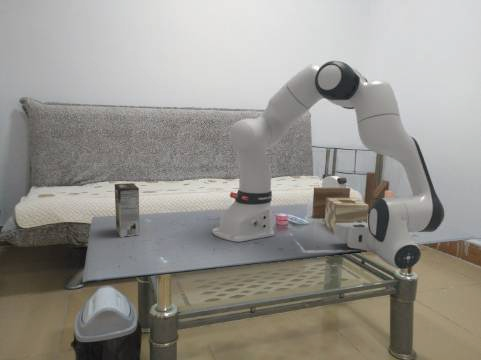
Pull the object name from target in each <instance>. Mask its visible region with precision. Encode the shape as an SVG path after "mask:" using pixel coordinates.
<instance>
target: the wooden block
mask: <svg viewBox="0 0 481 360" xmlns="http://www.w3.org/2000/svg"><path fill="white" fill-rule="evenodd" d="M376 175H377V173H376V172H373V171H368V172H366V177H365V178H366V179H365V180H366V181H365V188H364V189H365V191H364V203H366V204H368V213H369V210H370V208H371V206H372V205H373V203H374V202H375V201H376V200H377V199H379V198H384V197H385V191H386V190H389V189H390V181H388V180H384V179H383V180H382V181H381V182H380V183H379V184H378V185H377V186H376V185H375V184H376ZM375 187H376V188H375ZM389 191H390V190H389ZM374 200H375V201H374Z"/></svg>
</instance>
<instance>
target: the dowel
mask: <svg viewBox="0 0 481 360" xmlns="http://www.w3.org/2000/svg"><path fill="white" fill-rule="evenodd" d="M388 197H395V191H394V190H386V191H385V197H384V198H388Z"/></svg>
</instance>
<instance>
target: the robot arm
mask: <svg viewBox="0 0 481 360" xmlns="http://www.w3.org/2000/svg"><path fill="white" fill-rule="evenodd" d="M323 99H325V100H327V101H328V102H330V103H331V104H333V105H336V106H339V107H341V108H343V109H346V110H354V111H355V115H356V122H357V123H356V124H357V129H358V135H359V139H360V141H361V144H362V145H363V146H364V147H365V148H366V149H368V150H369V151H371V152H372V153H375V154H378V155H382V156H386V157H387V158H388V157H389V158H390V159H394V160H395V161H397V162H399V163H400V164H401V165H402V166H403V168H404V171H405V173H406V177H407V180H408V182H409V185H410V189H411V191H412V192H411V193H412V195H404V196H394V197H388V198H379V199H377V200H376V199H375V200H376V201H373V205H372V206H371V208H370V210H369V213H368V217H367V223H365V222H363V221H354V223H336V224H335V226H334V232H333V234H334V235H335V237H336V238H338V239H339V240H340V241H341V242H343V243H346V245H347V247H348V248H350V249H355V250H362V251H365V252H368V253H373V254H375V255H376V256H377V257H378V258H379V259H381V260H382V261H383V262H384V263H386V264H388V266H389V265H390V266H391V267H393V268H395V269H399V270H406V269H409V268H412V267H414V266H415V265H416V264H418V262H419V261H420V260H421V256H422V251H421V247H419V245H418V244H417V243H416V242H415V241H414V240H413V238H412V237H411V234H410V233H417V232H418V233H433V232H435V231H437V229H439V227H440V226H441V224H442V223H443V221H444V219H445V208H444V206H443V203H442V202H441V199H440V198H439V197H438V194H437V193H436V191H435V190H436V189H435V187H434V185H433V182H432V177H431V175H430V173H429V172H430V171H429V169H428V166H427V164H426V161H425V158H424V155H423V152H422V150H421V147H420V145H419V143H418V141H417V140H416V139H415V137H413V136H411V135H410V134H409V133H408V131H406V129H405V128H404V125H403V122H402V119H401V116H400V115H401V114H400V110H399V106H398V101H397V98H396V95H395V93H394V90H393V87H392V86H391V84H390V83H389V82H387V81H386V80H382V79H381V80H380V79H374V80H369V81H368V79H367V78H366V77H364V76H363V75H362V73H361V72H359V71H358V70H357V69H356V68H353V67H352V66H350V65H349V64H347V62H346V63H345V62H343V61H341V60H340V61H339V60H331V61H327V62H325V63H323V64H322V65H320V64H317V63H311V64H309V65H307V66H306V67H304V68H303V69H301V70H300V71H299V72H297V73H296V74H294V75H293V76H292V77H291V78H290V79H289V80H288V81H287V82H286V83H284V85H282V87H281V88H279V89H278V91H277V92H276V93H275V94H273V96H272V97H270V99H269V100H268V105H267V106H266V108H265V109H264V111H263V112H262V113H261V114H260V116H258V117H256V118H249V117H248V118H243V119H240V120H238V121H236V122H234V123H233V124H232V125H231V127H230V129H229V132H228V139H229V143H230V144H231V146H232V147H233V148H234V152H235V153H236V158H237V162H238V167H239V170H238V171H239V177H238V178H239V180H238V181H239V184H238V185H239V187H238V190H237V193H236V192H234V191H231V192H230V193H229V197H230V198H231V199H234V202H233V203H232V204H231V205H230V206H229V207H228V208H227V209H226V210H225V211H224V212H223V213H221V215H220V219H219V223H218V226H217V227H215V228H213V229H212V230H211V233H212V234H213V235H214V236H216V237H218V238H220V239H223V240H226V241H229V242H234V243H235V242H236V243H237V242H245V241H251V240H256V239H262V238H268V237H274V236H275V231H274V225H273V212H272V206H271V205H272V204H271V202H272V198H273V193H272V167H271V166H270V164H269V161H268V157H267V156H268V155H267V150H268V151H269V150H271V149H272V148H274V147H276V146H277V145H278V144H279V143H280V141H281V140H282V138H283V137H284V136H285V135H286V133H287V132H288V131H289V129H291V127H292V126H293V125H294V124H295V123H296V122H297V121H298V120H299V119H301V117H303V116H304V115H305V114H306V113H307V112H308V111H309V110H310V109H311V108H312V107H313V106H314V105H315V104H317V103H318V102H319V101H320V100H323Z"/></svg>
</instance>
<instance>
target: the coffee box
mask: <svg viewBox="0 0 481 360" xmlns="http://www.w3.org/2000/svg"><path fill="white" fill-rule="evenodd" d="M139 189H140V188H139V187H138V186H137V185H136V184H135V183H114V201H115V203H114V204H115V208H114V209H115V229H116V231H117V234H118V235H119V237H120V238H126V237H125V236H129V237H135V236H134V235H138V236H140V190H139Z"/></svg>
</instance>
